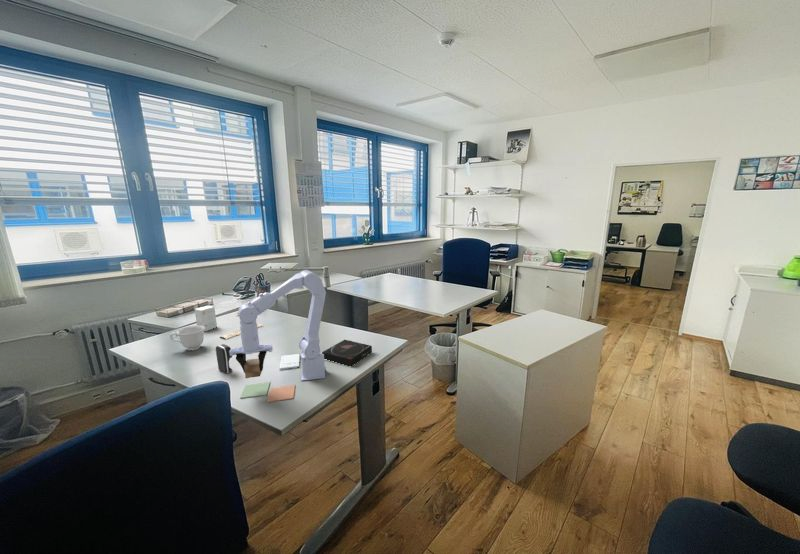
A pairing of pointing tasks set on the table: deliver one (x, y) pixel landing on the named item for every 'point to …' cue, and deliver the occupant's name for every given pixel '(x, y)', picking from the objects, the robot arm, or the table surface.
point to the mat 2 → (281, 393)
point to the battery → (223, 358)
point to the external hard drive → (290, 361)
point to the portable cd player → (347, 352)
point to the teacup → (190, 337)
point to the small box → (206, 317)
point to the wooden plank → (237, 333)
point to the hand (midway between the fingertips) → (253, 370)
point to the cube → (252, 368)
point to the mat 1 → (255, 390)
